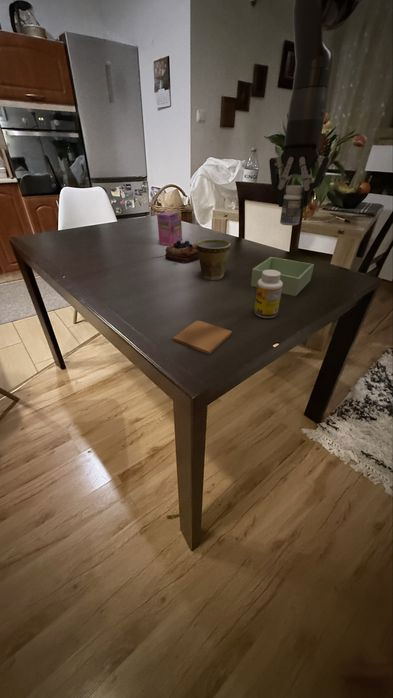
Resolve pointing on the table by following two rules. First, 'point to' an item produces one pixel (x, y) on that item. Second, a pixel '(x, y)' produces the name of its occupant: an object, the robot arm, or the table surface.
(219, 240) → the ceramic cup
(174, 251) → the pastry
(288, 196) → the pill bottle
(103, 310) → the table surface
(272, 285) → the supplement bottle
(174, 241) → the box
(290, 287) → the bin
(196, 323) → the cork mat
